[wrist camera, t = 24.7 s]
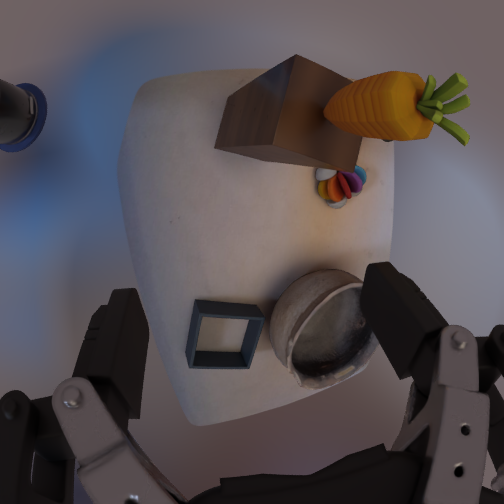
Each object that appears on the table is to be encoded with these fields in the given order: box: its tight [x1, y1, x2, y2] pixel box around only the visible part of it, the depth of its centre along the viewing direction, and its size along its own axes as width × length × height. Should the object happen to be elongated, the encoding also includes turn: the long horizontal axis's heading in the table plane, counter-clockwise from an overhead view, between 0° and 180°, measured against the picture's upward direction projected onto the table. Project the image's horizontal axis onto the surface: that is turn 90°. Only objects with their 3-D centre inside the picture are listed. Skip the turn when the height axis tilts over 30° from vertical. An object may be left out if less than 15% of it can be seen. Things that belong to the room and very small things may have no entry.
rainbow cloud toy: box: [316, 165, 366, 209], centre depth 50 cm, size 8×10×7 cm
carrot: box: [323, 71, 470, 146], centre depth 17 cm, size 5×5×15 cm
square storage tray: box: [185, 300, 265, 369], centre depth 54 cm, size 12×12×5 cm
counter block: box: [214, 54, 363, 173], centre depth 35 cm, size 9×9×24 cm
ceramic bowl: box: [269, 269, 379, 390], centre depth 54 cm, size 22×22×15 cm
